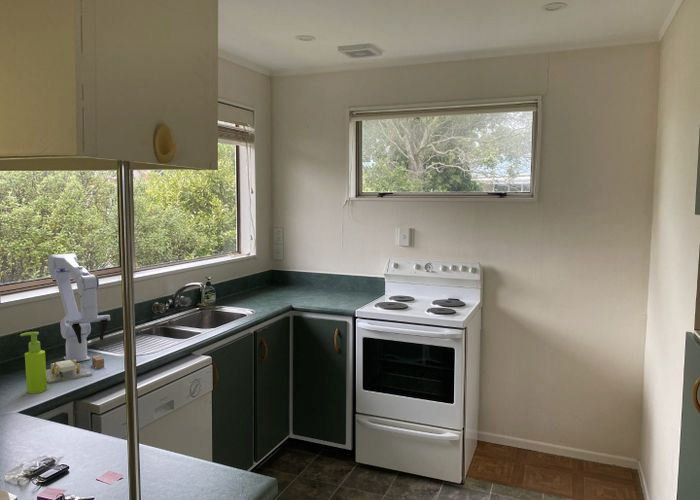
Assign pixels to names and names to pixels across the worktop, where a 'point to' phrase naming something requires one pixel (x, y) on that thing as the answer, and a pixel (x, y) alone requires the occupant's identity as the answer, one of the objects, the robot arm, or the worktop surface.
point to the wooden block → (97, 361)
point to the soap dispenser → (35, 365)
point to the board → (65, 365)
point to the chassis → (66, 373)
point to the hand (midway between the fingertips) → (90, 341)
